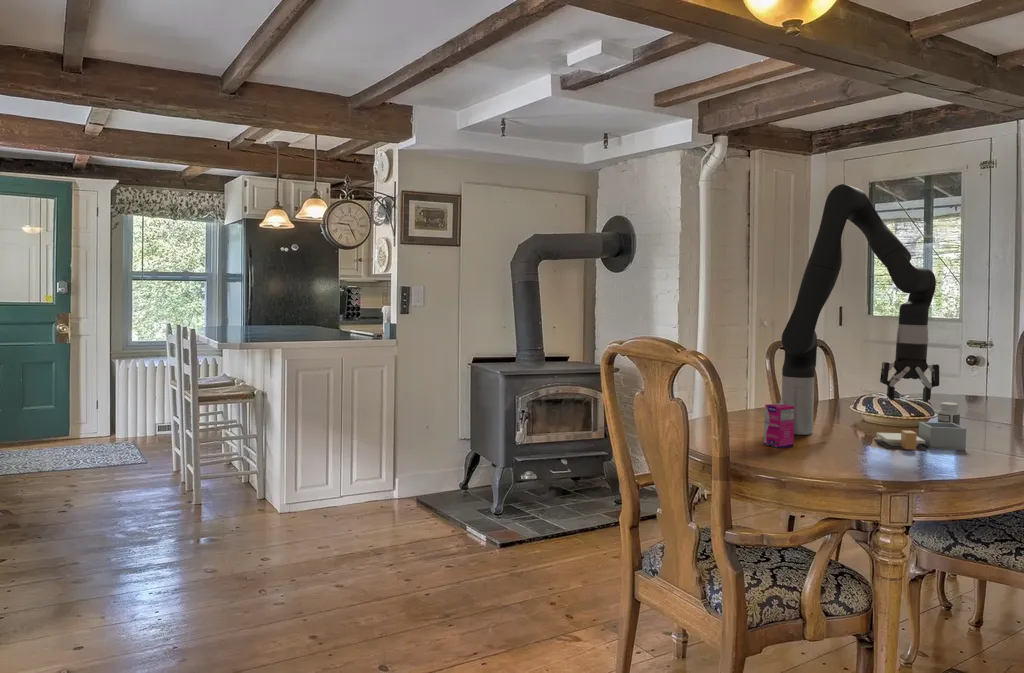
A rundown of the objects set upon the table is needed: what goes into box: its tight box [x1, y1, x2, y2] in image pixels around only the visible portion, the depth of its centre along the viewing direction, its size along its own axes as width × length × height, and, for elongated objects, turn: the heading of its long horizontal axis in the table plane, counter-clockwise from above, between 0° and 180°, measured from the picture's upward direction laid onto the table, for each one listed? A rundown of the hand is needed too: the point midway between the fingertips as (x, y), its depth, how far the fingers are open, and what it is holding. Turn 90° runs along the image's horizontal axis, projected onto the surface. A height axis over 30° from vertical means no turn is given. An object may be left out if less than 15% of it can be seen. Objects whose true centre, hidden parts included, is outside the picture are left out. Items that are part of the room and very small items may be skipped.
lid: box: [876, 429, 925, 451], centre depth 214 cm, size 14×10×5 cm
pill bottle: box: [937, 401, 961, 426], centre depth 230 cm, size 6×6×10 cm
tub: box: [918, 421, 967, 451], centre depth 215 cm, size 9×9×6 cm
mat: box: [873, 438, 927, 451], centre depth 217 cm, size 10×12×1 cm
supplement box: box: [763, 402, 795, 449], centre depth 214 cm, size 6×6×12 cm
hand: (908, 400), depth 209 cm, fingers open, 8 cm apart
